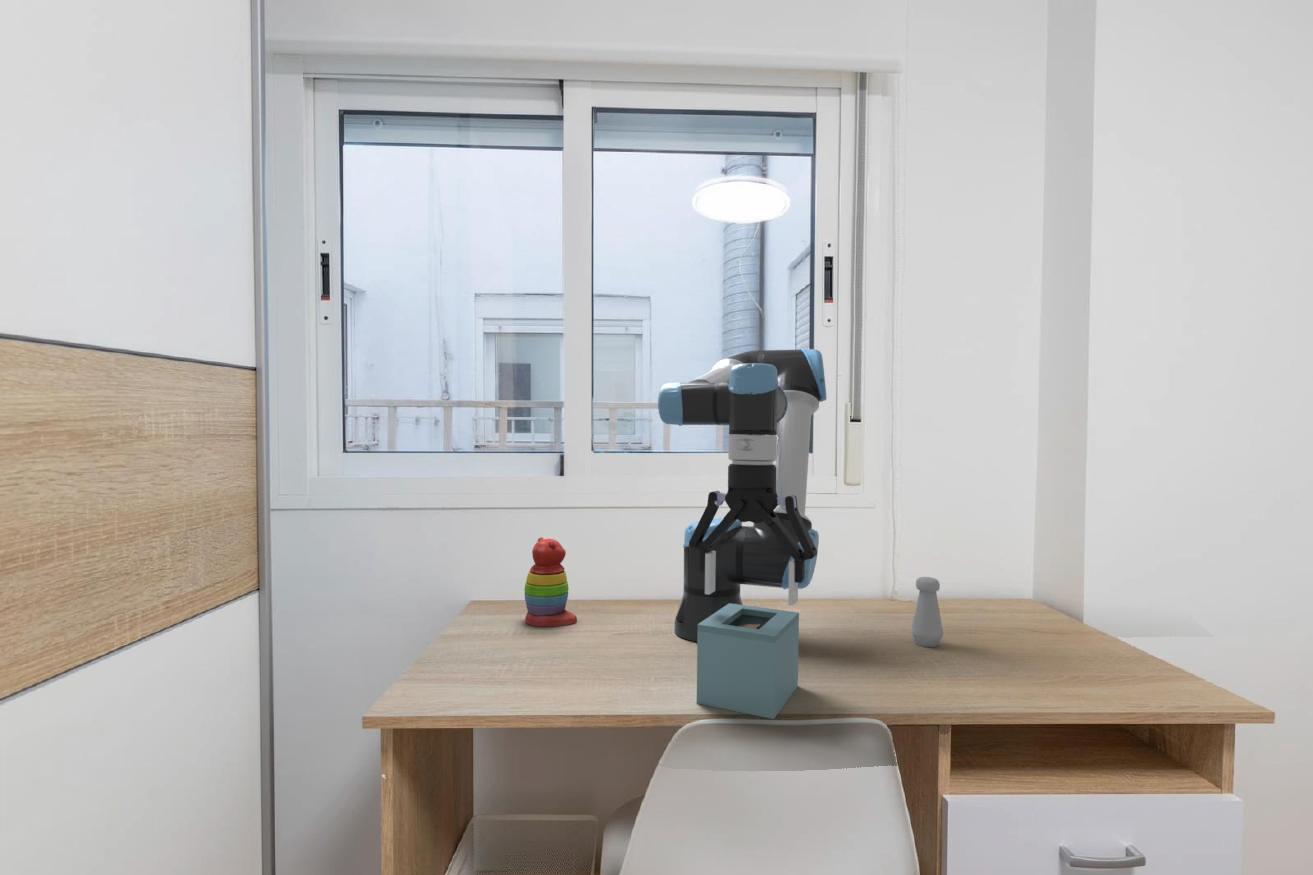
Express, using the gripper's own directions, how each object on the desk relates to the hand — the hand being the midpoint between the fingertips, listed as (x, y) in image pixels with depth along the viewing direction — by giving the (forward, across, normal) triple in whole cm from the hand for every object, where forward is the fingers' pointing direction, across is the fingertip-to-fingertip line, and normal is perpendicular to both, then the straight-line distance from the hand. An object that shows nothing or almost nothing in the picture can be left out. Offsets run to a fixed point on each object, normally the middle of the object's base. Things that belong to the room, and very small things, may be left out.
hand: (750, 598), depth 103 cm
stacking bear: (+15, -51, +18) cm, 57 cm away
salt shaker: (+15, +23, +40) cm, 49 cm away
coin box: (+15, 0, 0) cm, 15 cm away
